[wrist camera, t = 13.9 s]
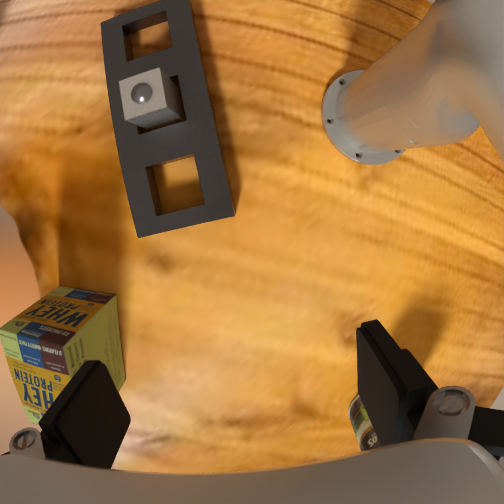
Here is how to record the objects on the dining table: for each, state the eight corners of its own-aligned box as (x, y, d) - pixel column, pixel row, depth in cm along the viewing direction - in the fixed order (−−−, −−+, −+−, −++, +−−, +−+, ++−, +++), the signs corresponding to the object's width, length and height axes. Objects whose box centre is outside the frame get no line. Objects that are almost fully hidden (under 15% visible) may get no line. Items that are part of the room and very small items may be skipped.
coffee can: (338, 401, 46) (360, 464, 33) (395, 371, 45) (430, 427, 32) (357, 433, 49) (378, 491, 35) (407, 407, 47) (438, 460, 34)
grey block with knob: (179, 88, 35) (158, 66, 26) (185, 120, 36) (166, 106, 27) (145, 98, 36) (117, 80, 27) (151, 130, 37) (123, 120, 28)
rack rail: (190, 3, 32) (187, -7, 29) (235, 212, 39) (234, 216, 36) (109, 30, 33) (100, 22, 30) (145, 233, 40) (137, 238, 37)
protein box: (117, 292, 42) (63, 346, 27) (126, 380, 46) (91, 445, 31) (58, 284, 42) (-5, 327, 27) (72, 368, 45) (29, 423, 30)
